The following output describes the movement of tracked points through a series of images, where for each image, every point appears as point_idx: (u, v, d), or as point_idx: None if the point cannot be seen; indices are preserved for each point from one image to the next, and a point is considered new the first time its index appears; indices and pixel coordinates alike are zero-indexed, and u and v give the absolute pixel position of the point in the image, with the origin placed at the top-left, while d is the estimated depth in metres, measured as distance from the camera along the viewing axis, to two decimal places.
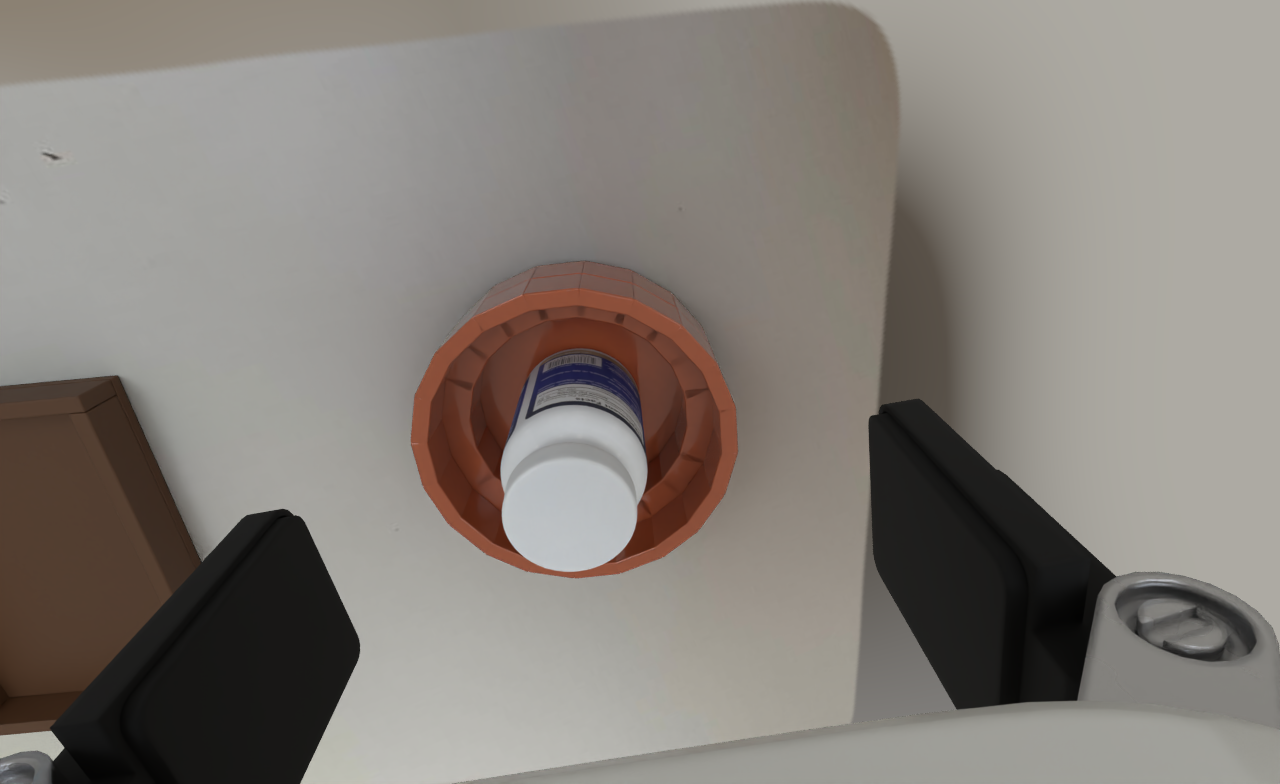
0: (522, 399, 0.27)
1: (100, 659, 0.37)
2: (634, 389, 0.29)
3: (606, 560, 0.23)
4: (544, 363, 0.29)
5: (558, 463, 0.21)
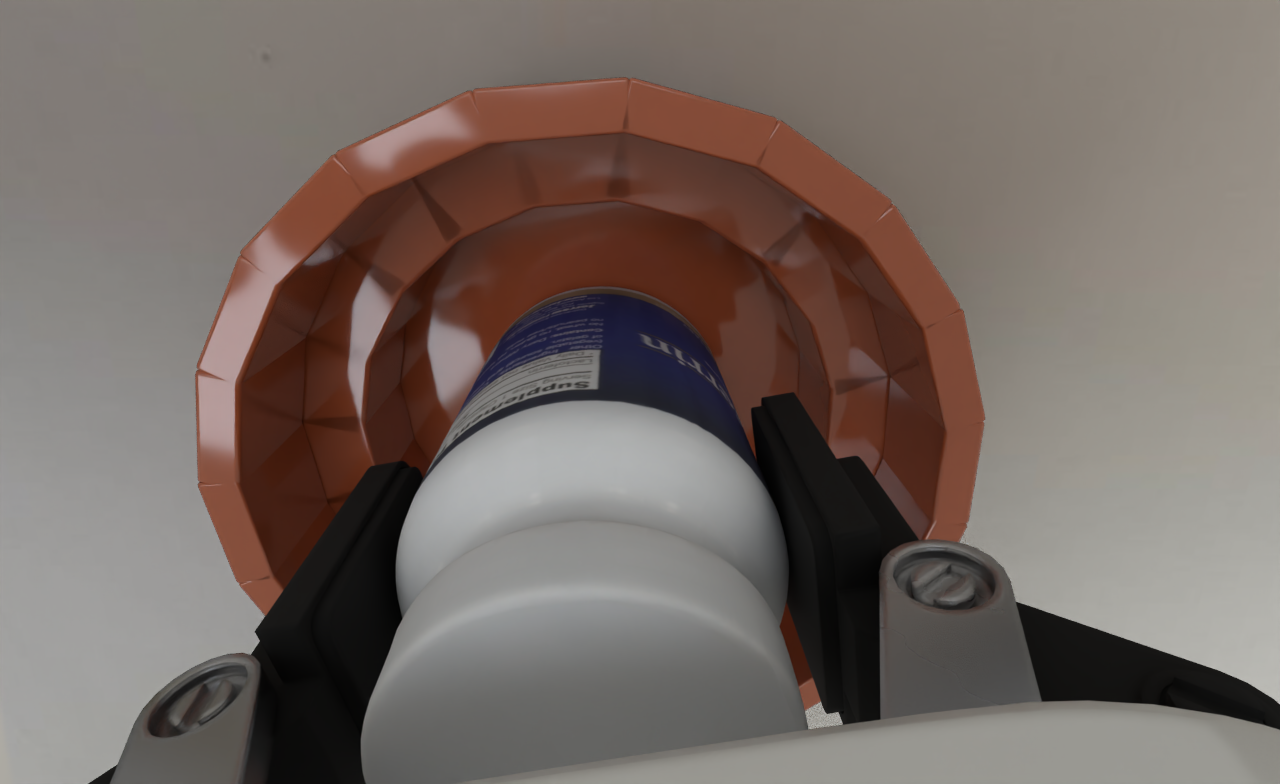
0: None
1: None
2: (579, 303, 0.13)
3: (797, 729, 0.07)
4: None
5: (370, 748, 0.06)
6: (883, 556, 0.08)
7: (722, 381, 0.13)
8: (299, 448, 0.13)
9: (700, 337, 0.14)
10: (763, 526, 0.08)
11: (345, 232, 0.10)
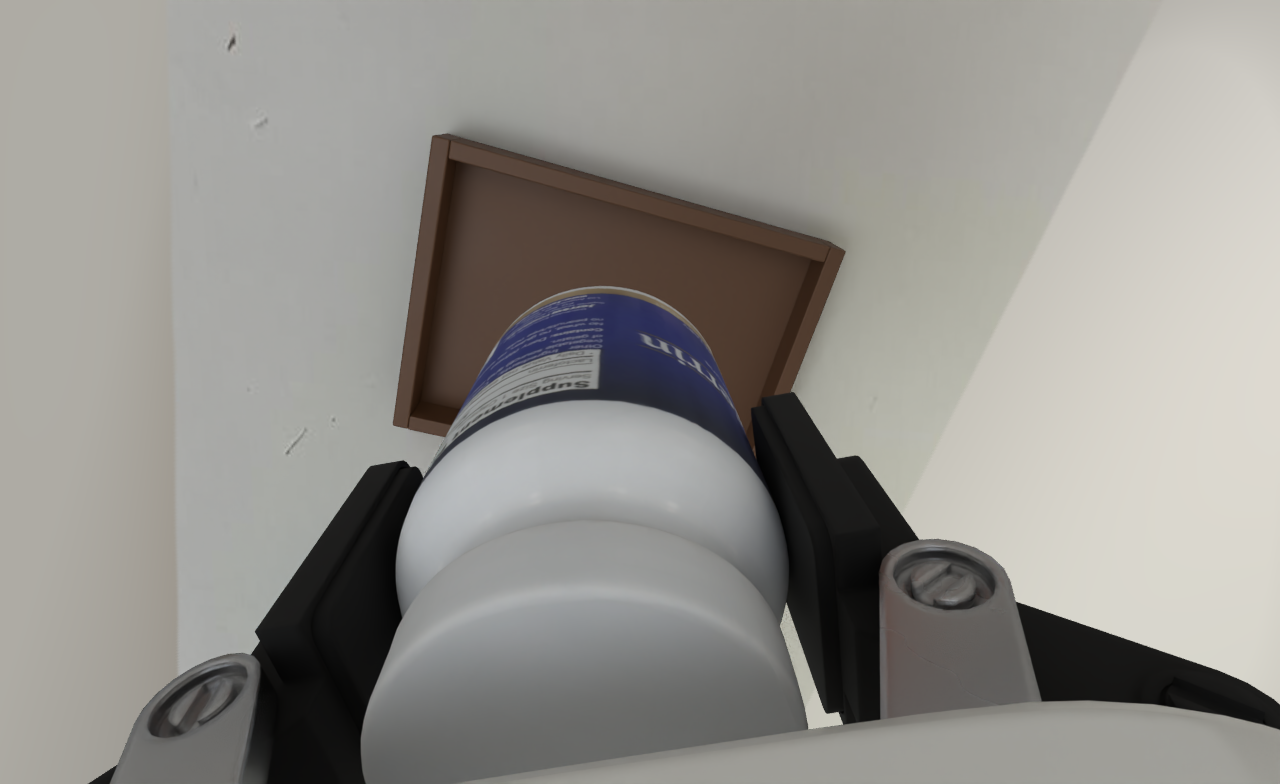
0: None
1: (730, 364, 0.35)
2: (579, 303, 0.13)
3: (797, 729, 0.06)
4: None
5: (371, 748, 0.06)
6: (883, 556, 0.08)
7: (722, 381, 0.13)
8: None
9: (700, 337, 0.14)
10: (763, 526, 0.08)
11: None
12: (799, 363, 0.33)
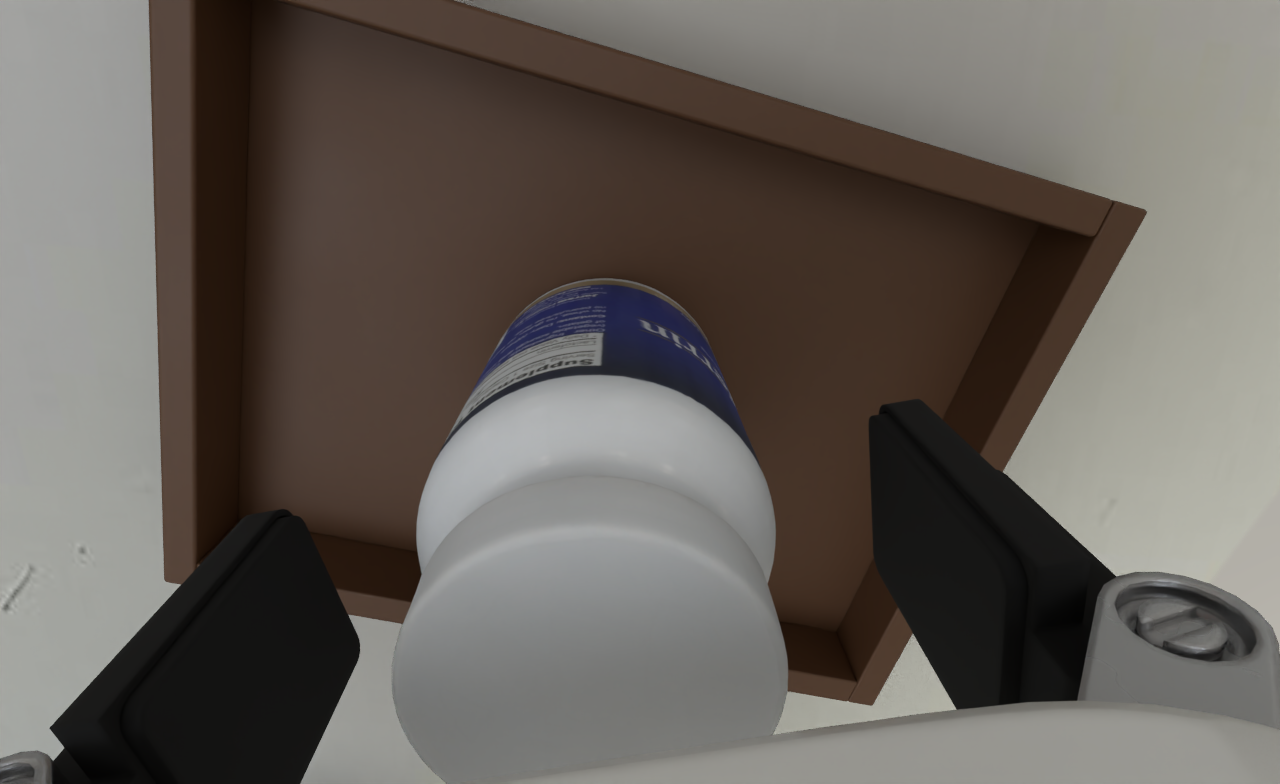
0: None
1: (847, 446, 0.18)
2: (583, 293, 0.14)
3: (777, 659, 0.07)
4: None
5: (401, 673, 0.07)
6: None
7: (717, 366, 0.14)
8: None
9: (697, 326, 0.15)
10: (751, 490, 0.09)
11: None
12: (1008, 452, 0.16)
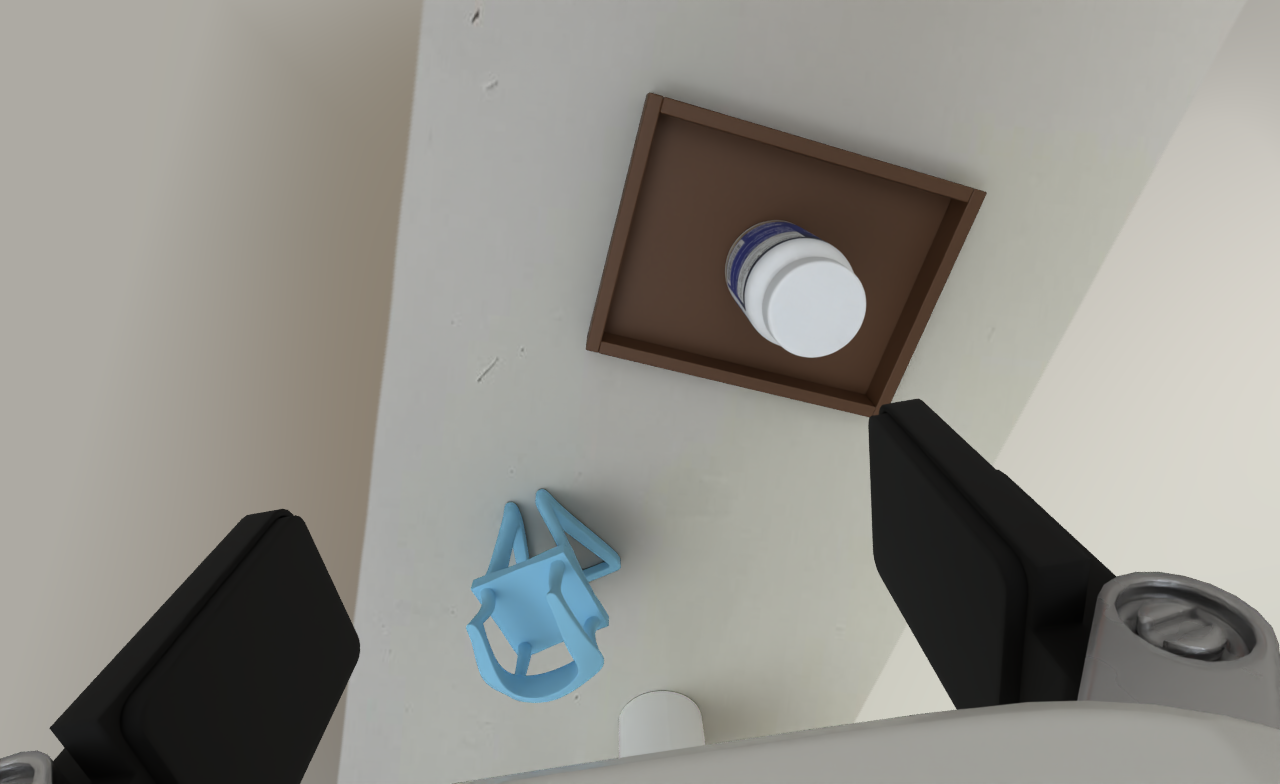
0: (740, 307, 0.36)
1: (872, 297, 0.40)
2: (774, 224, 0.36)
3: (864, 299, 0.30)
4: (727, 281, 0.38)
5: (772, 301, 0.30)
6: None
7: None
8: None
9: None
10: None
11: None
12: (939, 292, 0.38)
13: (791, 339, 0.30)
